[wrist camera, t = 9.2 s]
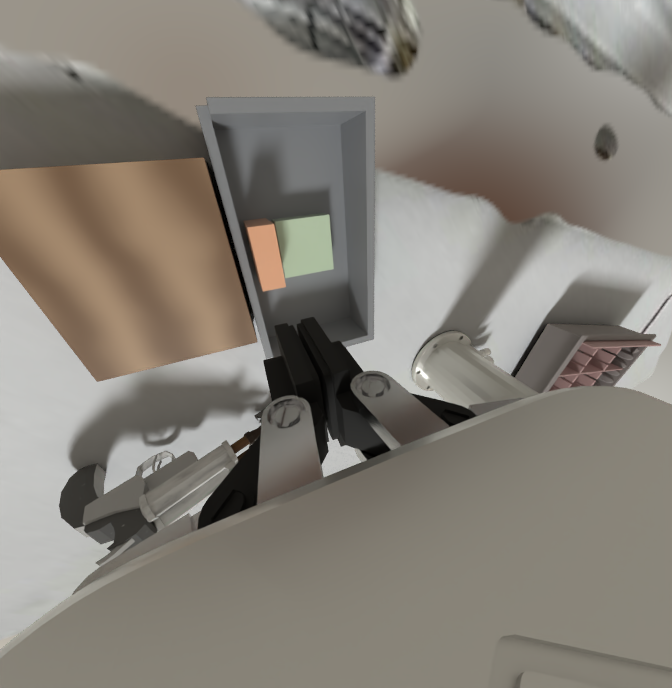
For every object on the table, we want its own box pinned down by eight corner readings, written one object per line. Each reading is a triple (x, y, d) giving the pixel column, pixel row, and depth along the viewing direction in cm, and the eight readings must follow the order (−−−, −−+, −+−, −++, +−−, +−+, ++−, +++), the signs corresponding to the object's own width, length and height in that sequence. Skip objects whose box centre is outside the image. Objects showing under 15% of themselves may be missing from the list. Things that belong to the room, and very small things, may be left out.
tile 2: (243, 220, 25) (265, 217, 26) (256, 275, 28) (276, 271, 29) (247, 227, 21) (274, 224, 21) (262, 291, 24) (286, 287, 24)
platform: (207, 163, 23) (203, 157, 19) (253, 322, 31) (257, 342, 27) (-3, 177, 19) (-64, 173, 15) (115, 353, 28) (97, 381, 24)
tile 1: (274, 221, 24) (271, 219, 26) (285, 278, 27) (281, 272, 29) (329, 214, 26) (322, 212, 27) (333, 269, 29) (327, 264, 30)
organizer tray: (462, 449, 71) (492, 482, 63) (540, 317, 53) (597, 339, 45) (532, 432, 84) (565, 457, 76) (615, 320, 66) (669, 338, 58)
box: (345, 114, 24) (374, 96, 20) (354, 319, 36) (373, 339, 32) (199, 118, 21) (192, 97, 16) (262, 342, 33) (268, 368, 28)
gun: (51, 474, 31) (47, 596, 21) (252, 369, 45) (303, 413, 36) (78, 496, 34) (85, 613, 24) (259, 391, 48) (308, 437, 39)
